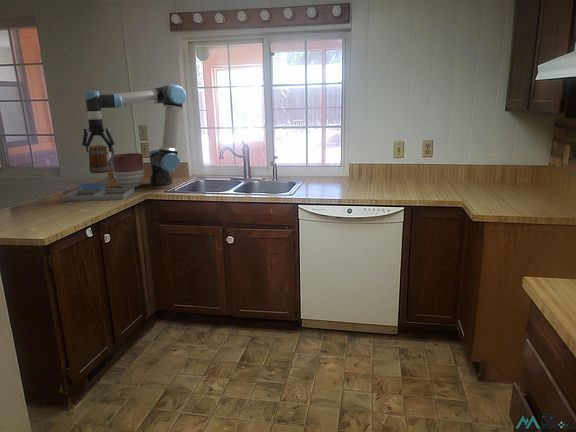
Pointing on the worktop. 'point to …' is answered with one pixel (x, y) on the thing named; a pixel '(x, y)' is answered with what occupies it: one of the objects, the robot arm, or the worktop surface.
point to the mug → (99, 159)
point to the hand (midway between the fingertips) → (100, 157)
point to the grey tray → (97, 192)
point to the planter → (128, 169)
